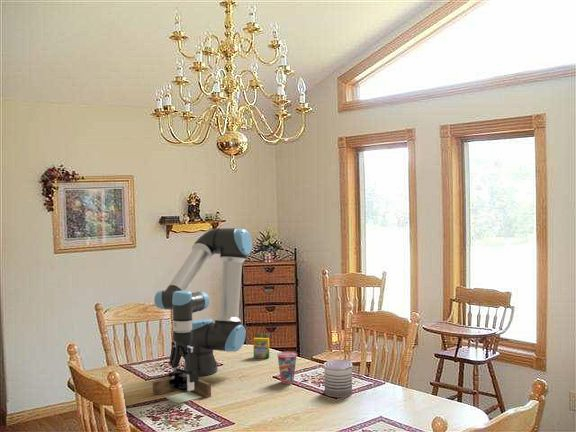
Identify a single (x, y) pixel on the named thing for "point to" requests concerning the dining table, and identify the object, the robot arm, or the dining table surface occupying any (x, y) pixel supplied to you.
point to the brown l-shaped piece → (164, 387)
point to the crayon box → (261, 346)
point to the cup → (287, 366)
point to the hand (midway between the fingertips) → (183, 387)
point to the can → (338, 378)
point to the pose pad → (183, 397)
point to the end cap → (181, 380)
